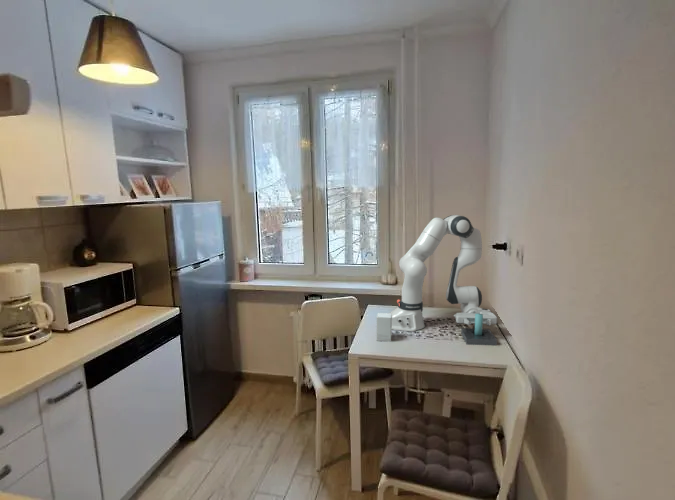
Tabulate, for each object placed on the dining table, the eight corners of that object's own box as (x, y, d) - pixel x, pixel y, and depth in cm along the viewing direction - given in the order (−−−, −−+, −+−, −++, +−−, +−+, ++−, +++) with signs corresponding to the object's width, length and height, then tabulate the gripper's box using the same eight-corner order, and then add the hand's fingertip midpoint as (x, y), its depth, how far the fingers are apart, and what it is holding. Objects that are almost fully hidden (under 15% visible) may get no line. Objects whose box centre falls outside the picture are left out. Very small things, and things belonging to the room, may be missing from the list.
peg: (475, 340, 189) (476, 315, 187) (473, 337, 192) (474, 313, 190) (482, 340, 188) (483, 315, 186) (480, 338, 192) (481, 313, 190)
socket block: (466, 344, 184) (466, 338, 184) (461, 333, 198) (461, 328, 198) (496, 345, 183) (496, 339, 182) (488, 334, 196) (489, 329, 196)
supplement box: (391, 341, 189) (391, 317, 187) (376, 341, 191) (376, 317, 189) (391, 336, 196) (391, 313, 194) (377, 335, 198) (377, 312, 196)
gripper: (453, 308, 203) (457, 317, 189) (492, 309, 200) (500, 318, 186) (452, 319, 203) (457, 329, 190) (492, 320, 201) (499, 330, 187)
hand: (479, 323), depth 188 cm, fingers open, 8 cm apart
